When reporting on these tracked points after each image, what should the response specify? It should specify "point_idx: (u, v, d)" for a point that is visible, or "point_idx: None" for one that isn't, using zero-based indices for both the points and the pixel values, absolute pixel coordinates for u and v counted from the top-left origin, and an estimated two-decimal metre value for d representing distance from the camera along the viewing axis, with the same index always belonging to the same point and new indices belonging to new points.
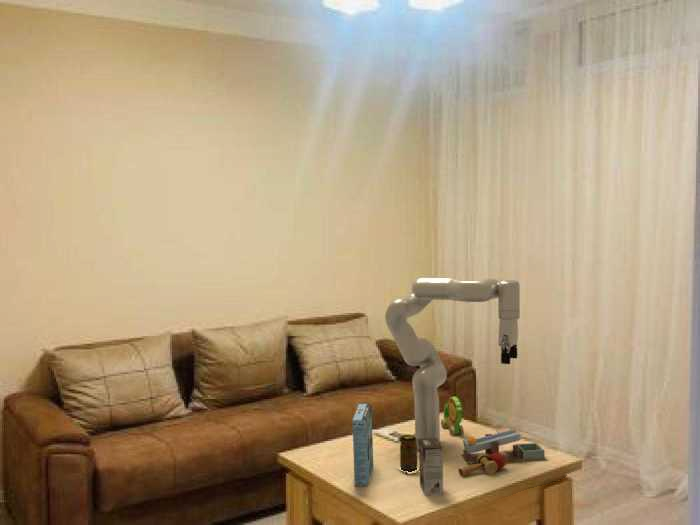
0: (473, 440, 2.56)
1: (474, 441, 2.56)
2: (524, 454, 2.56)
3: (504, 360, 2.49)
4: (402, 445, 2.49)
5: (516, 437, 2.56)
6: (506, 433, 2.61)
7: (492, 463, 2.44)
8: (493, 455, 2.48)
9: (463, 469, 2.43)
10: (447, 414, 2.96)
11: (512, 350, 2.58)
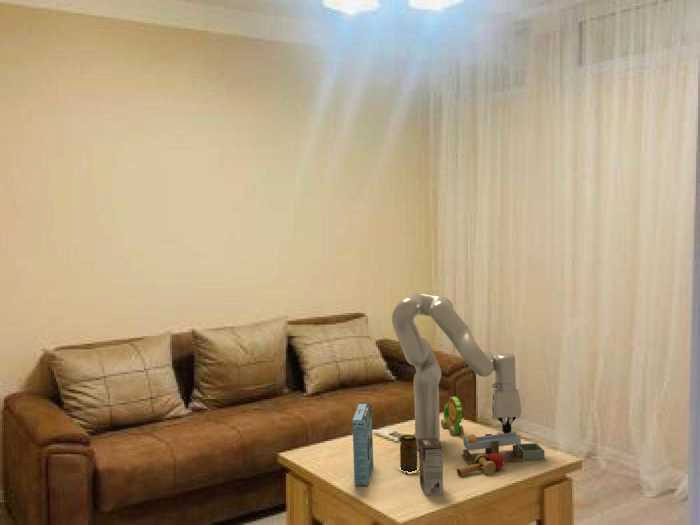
0: (474, 437, 2.56)
1: (475, 439, 2.56)
2: (524, 454, 2.56)
3: None
4: (402, 445, 2.49)
5: (517, 440, 2.56)
6: (507, 435, 2.61)
7: (490, 463, 2.44)
8: (491, 455, 2.48)
9: (461, 469, 2.42)
10: (447, 414, 2.96)
11: None
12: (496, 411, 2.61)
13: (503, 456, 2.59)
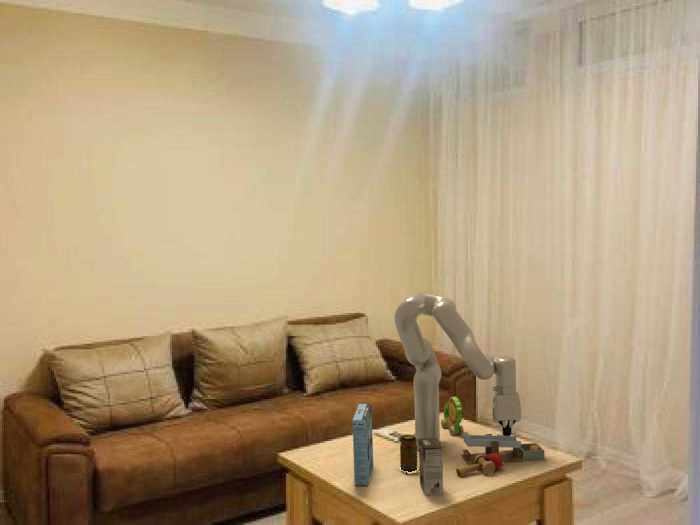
0: None
1: None
2: (524, 454, 2.56)
3: None
4: (402, 445, 2.49)
5: (517, 444, 2.56)
6: (507, 438, 2.61)
7: (490, 463, 2.44)
8: (490, 455, 2.47)
9: (461, 469, 2.42)
10: (447, 414, 2.96)
11: None
12: (496, 414, 2.61)
13: (503, 456, 2.59)
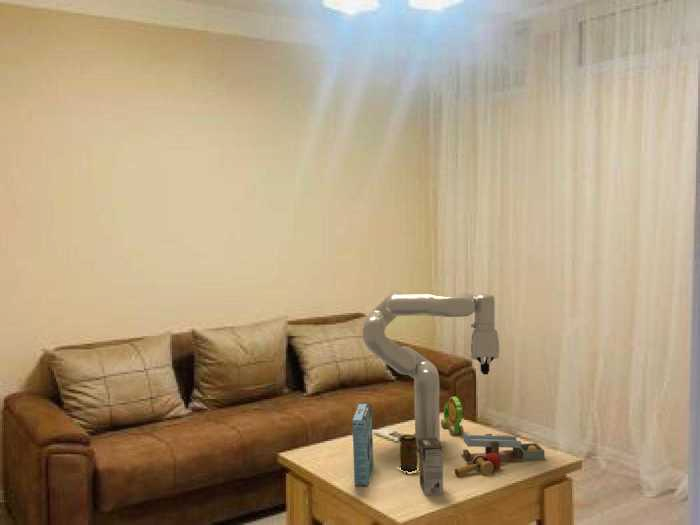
0: (535, 449, 2.59)
1: None
2: (524, 454, 2.56)
3: None
4: (402, 445, 2.49)
5: (517, 444, 2.56)
6: (507, 438, 2.61)
7: (488, 463, 2.44)
8: (489, 455, 2.47)
9: (459, 469, 2.42)
10: (447, 414, 2.96)
11: None
12: (474, 350, 2.65)
13: (503, 456, 2.59)
